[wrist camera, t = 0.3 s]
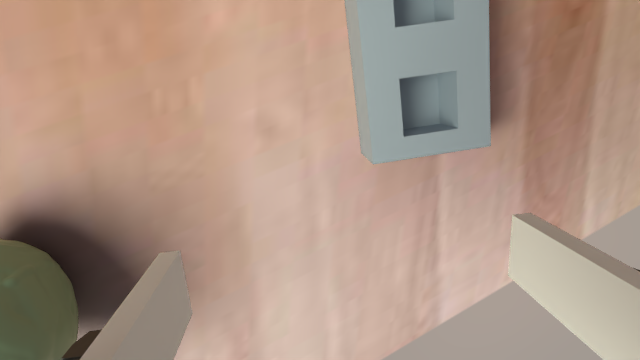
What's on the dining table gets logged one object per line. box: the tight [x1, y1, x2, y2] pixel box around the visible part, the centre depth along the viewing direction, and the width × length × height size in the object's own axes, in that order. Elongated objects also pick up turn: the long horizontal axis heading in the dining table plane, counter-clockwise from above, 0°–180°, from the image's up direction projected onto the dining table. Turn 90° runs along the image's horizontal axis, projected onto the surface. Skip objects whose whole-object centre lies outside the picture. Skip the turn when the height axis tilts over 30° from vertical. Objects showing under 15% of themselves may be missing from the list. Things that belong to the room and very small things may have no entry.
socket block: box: [345, 0, 491, 164], centre depth 36 cm, size 20×12×6 cm, turn 8°
